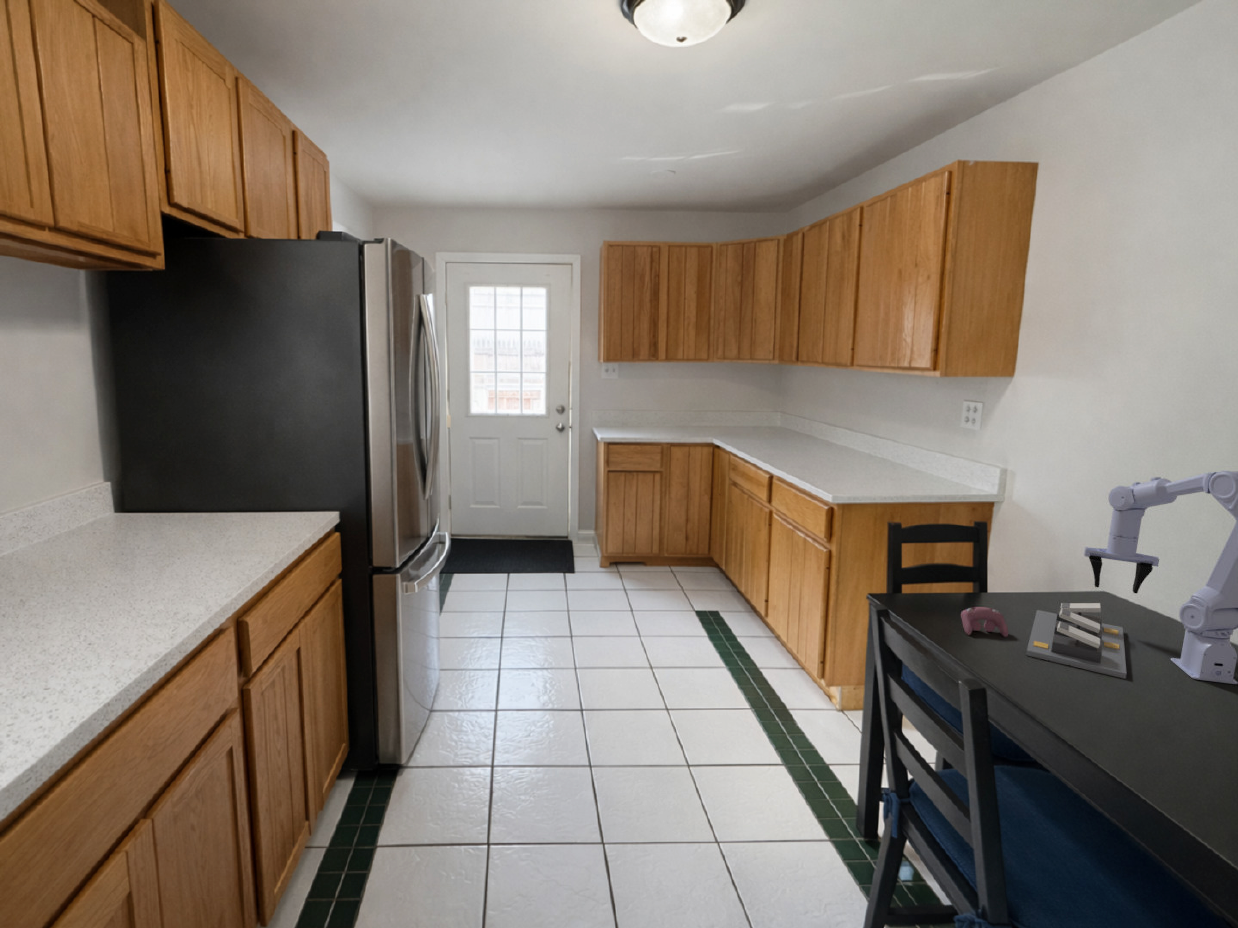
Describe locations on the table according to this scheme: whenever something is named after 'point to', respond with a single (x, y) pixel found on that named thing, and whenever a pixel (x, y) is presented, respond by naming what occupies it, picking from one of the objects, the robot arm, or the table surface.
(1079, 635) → the rocker near
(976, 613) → the video game controller
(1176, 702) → the table surface
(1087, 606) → the rocker far
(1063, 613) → the rocker middle
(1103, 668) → the switch board
